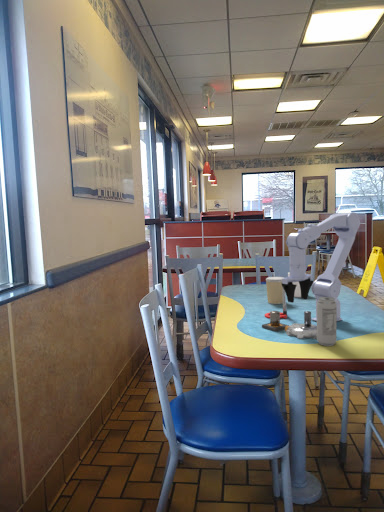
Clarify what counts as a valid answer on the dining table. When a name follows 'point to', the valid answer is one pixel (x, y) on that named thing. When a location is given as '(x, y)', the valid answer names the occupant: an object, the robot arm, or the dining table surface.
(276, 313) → the roller
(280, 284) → the coffee cup
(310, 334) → the sprocket
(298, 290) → the white upright block
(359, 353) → the dining table surface
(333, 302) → the energy drink can
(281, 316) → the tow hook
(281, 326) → the pad
